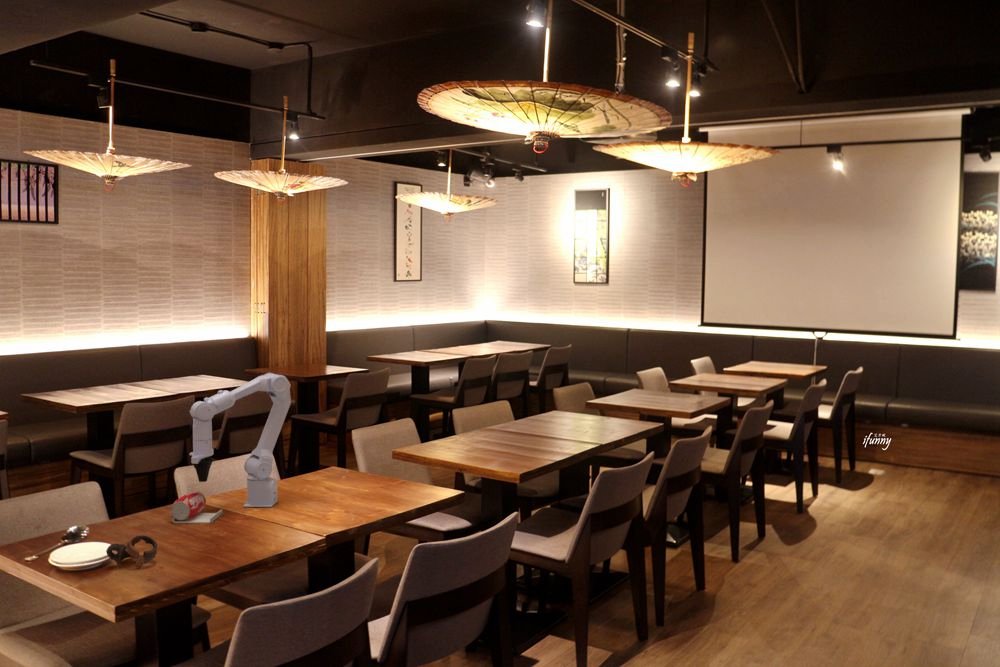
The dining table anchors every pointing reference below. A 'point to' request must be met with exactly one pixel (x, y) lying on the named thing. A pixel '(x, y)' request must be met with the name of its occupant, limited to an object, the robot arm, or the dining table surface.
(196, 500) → the soda can
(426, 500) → the dining table surface
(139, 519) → the dining table surface
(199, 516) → the grey tray
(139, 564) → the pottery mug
